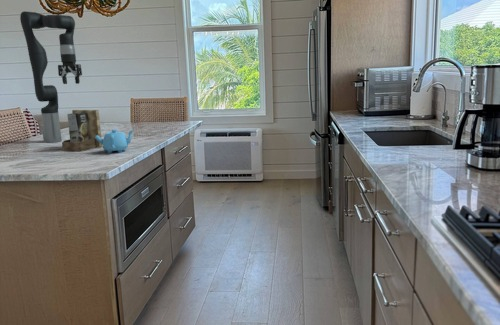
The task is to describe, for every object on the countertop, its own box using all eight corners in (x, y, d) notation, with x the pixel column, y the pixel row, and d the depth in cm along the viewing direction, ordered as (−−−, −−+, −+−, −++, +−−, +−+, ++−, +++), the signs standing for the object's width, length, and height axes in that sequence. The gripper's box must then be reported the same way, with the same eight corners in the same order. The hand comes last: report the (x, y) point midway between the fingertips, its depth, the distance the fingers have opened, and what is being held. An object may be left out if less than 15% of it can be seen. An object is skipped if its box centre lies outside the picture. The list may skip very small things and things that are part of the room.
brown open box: (62, 150, 230) (61, 141, 229) (79, 146, 241) (78, 137, 240) (81, 151, 225) (80, 141, 224) (96, 147, 236) (95, 138, 235)
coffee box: (80, 144, 228) (77, 113, 225) (70, 144, 230) (66, 113, 226) (90, 141, 237) (87, 112, 233) (80, 141, 238) (77, 112, 235)
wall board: (76, 146, 241) (72, 110, 237) (78, 145, 243) (74, 109, 239) (99, 147, 236) (95, 110, 232) (102, 146, 238) (98, 110, 233)
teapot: (122, 148, 232) (120, 126, 230) (136, 150, 223) (134, 128, 221) (95, 152, 221) (93, 130, 219) (109, 155, 212) (107, 132, 210)
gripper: (83, 53, 239) (86, 83, 242) (62, 54, 244) (66, 83, 247) (73, 53, 232) (76, 83, 235) (52, 54, 237) (56, 84, 240)
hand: (71, 83), depth 241 cm, fingers open, 8 cm apart
